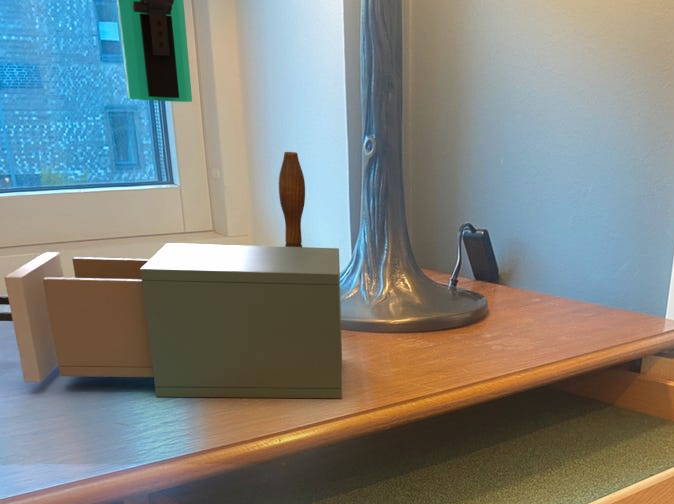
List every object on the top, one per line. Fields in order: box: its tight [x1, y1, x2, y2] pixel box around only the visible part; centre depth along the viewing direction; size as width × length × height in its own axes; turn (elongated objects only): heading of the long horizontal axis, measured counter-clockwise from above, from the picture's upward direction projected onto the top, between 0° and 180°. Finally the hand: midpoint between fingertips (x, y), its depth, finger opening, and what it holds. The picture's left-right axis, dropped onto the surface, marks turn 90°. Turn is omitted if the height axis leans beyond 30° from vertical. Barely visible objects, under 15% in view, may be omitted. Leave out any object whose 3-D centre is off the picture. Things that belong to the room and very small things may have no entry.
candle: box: [116, 0, 193, 103], centre depth 90 cm, size 6×6×12 cm
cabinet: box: [140, 242, 343, 399], centre depth 80 cm, size 15×13×10 cm
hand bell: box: [278, 151, 306, 247], centre depth 97 cm, size 8×8×16 cm
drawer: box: [0, 251, 154, 383], centre depth 78 cm, size 18×11×8 cm, turn 97°
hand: (159, 95), depth 93 cm, fingers closed on candle, 6 cm apart
